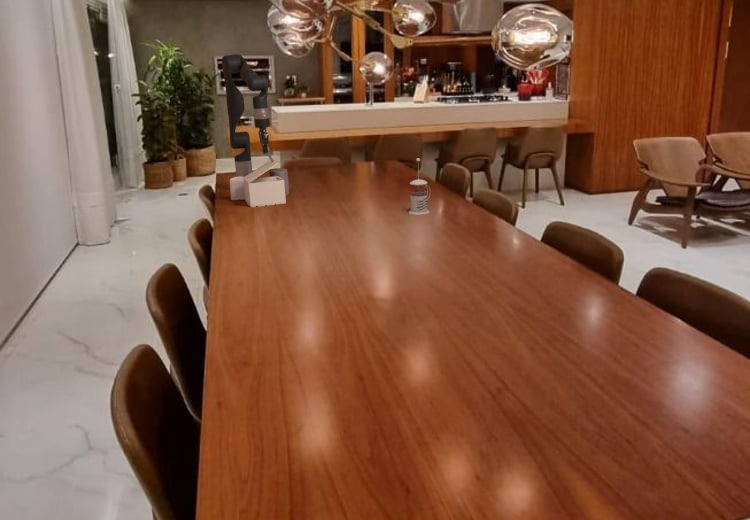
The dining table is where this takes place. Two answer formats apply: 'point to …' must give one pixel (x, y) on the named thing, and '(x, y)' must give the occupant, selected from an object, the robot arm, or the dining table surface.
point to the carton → (265, 191)
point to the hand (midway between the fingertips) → (265, 152)
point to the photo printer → (237, 188)
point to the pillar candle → (282, 174)
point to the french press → (421, 199)
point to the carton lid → (261, 168)
